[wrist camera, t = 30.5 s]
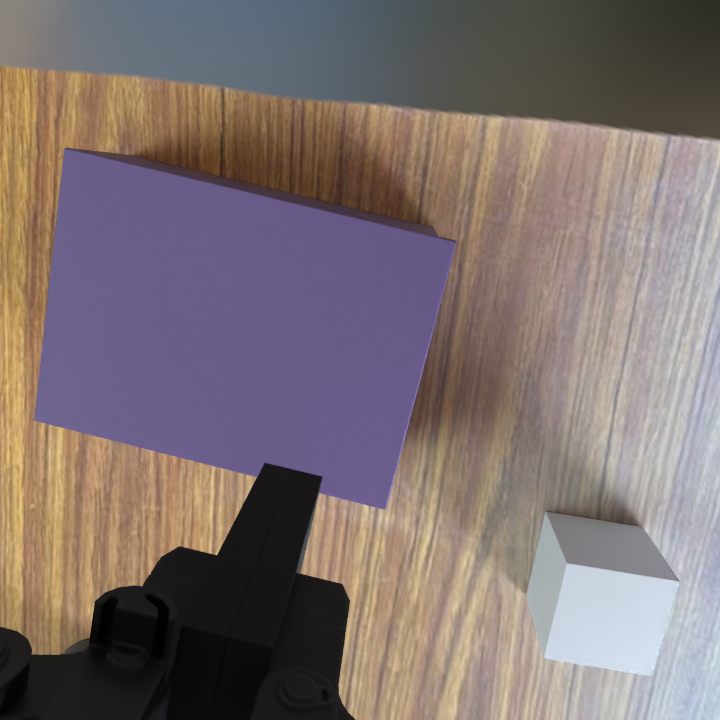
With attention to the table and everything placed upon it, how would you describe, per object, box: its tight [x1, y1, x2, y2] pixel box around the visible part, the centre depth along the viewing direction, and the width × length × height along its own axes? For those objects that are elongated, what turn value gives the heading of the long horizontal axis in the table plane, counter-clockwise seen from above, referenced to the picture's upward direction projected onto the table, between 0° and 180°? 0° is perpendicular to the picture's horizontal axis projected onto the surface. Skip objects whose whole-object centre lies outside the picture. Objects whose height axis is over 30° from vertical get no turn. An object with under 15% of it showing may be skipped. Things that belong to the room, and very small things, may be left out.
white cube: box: [526, 512, 680, 677], centre depth 40 cm, size 6×6×6 cm
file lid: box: [34, 148, 456, 510], centre depth 33 cm, size 18×14×1 cm
